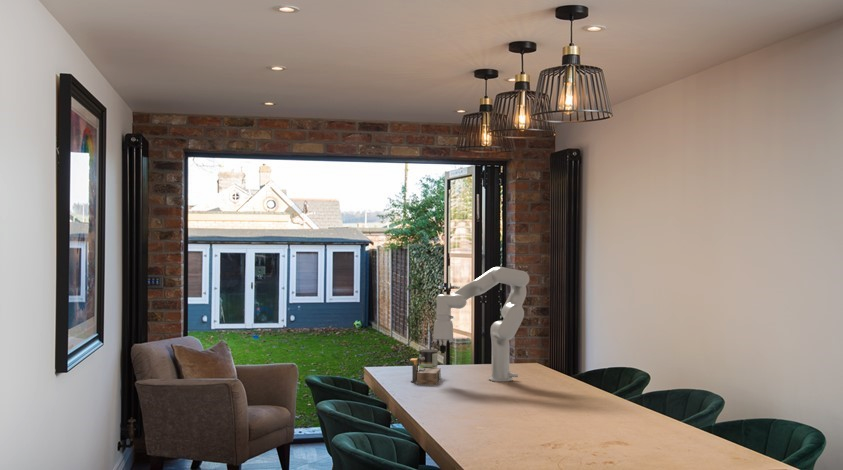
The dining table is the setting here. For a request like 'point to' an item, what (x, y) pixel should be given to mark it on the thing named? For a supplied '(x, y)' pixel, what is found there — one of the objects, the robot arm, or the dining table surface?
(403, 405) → the dining table surface
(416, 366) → the plate
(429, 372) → the block
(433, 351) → the coffee can
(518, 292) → the robot arm
